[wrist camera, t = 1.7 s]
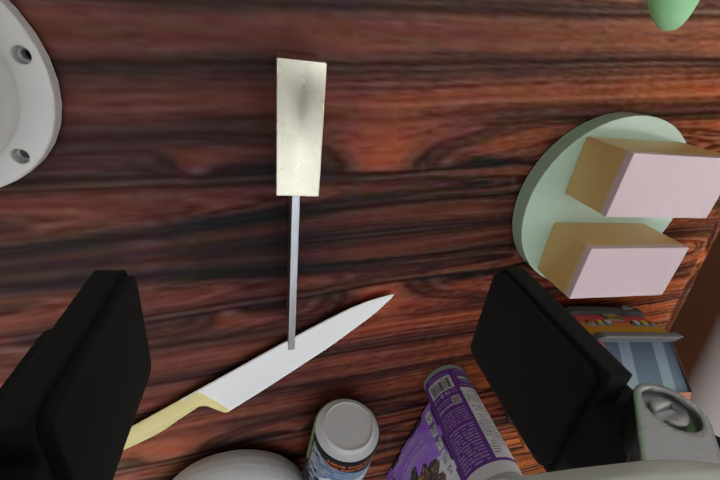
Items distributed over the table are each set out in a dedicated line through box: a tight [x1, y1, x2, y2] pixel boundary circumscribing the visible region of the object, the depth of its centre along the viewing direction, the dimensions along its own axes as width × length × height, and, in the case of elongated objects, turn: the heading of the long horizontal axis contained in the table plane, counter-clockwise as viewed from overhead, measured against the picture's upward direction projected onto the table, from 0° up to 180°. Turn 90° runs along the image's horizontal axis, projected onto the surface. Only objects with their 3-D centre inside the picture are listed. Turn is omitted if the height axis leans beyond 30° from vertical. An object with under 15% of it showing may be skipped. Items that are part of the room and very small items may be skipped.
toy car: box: [504, 305, 692, 452], centre depth 38 cm, size 12×17×10 cm
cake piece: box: [537, 223, 689, 299], centre depth 32 cm, size 9×4×4 cm, turn 84°
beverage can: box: [302, 398, 380, 480], centre depth 37 cm, size 6×7×12 cm
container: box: [424, 365, 523, 480], centre depth 34 cm, size 5×5×15 cm
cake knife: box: [275, 51, 327, 350], centre depth 25 cm, size 20×2×6 cm, turn 174°
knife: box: [123, 294, 394, 450], centre depth 35 cm, size 1×32×5 cm
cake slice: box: [566, 137, 720, 218], centre depth 28 cm, size 9×4×4 cm, turn 84°
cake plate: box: [512, 112, 686, 279], centre depth 32 cm, size 15×15×2 cm
